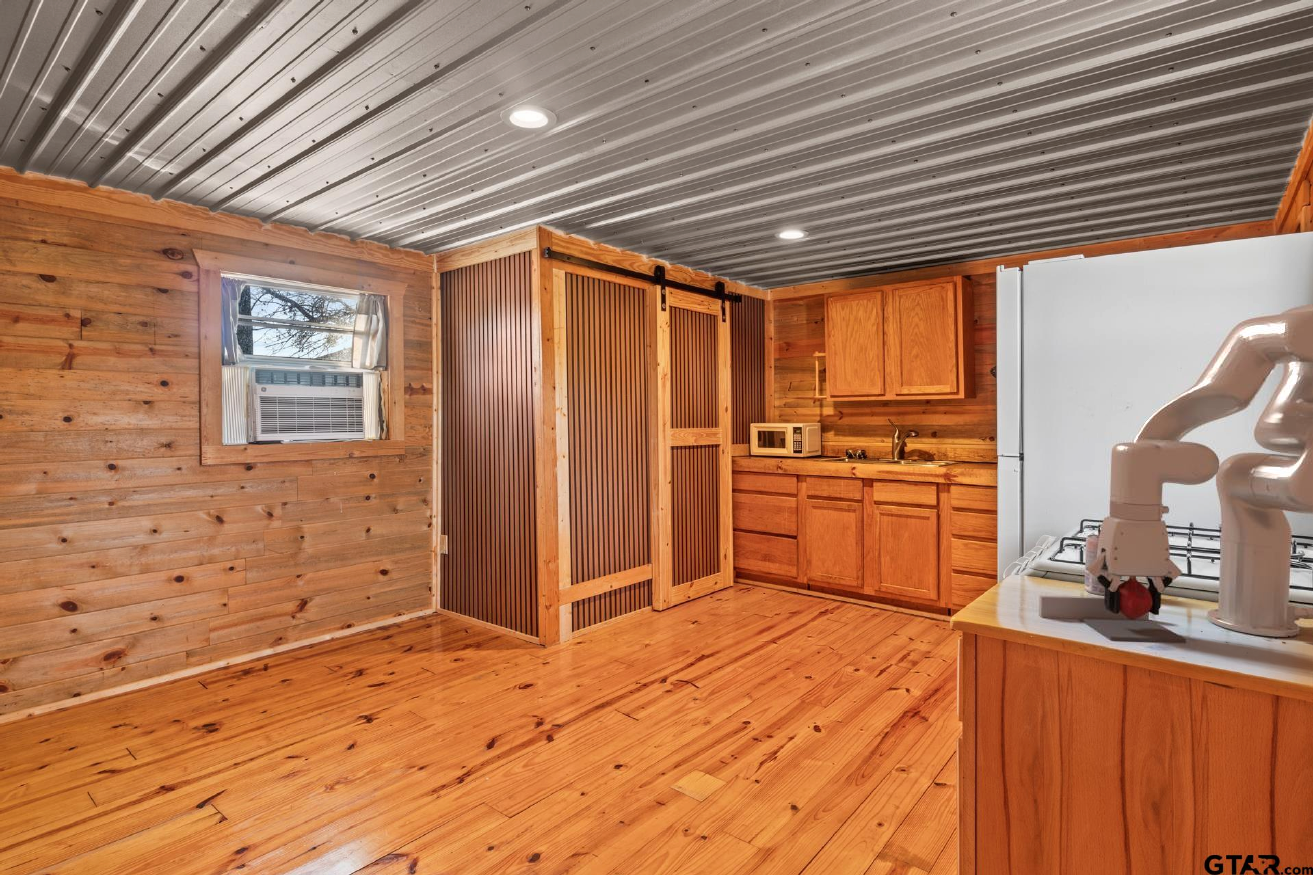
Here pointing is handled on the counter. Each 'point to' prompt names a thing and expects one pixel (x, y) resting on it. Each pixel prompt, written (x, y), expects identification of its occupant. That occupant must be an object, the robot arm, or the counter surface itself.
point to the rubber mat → (1132, 630)
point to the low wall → (1078, 608)
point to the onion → (1134, 599)
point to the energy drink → (1091, 555)
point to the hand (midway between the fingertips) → (1131, 610)
